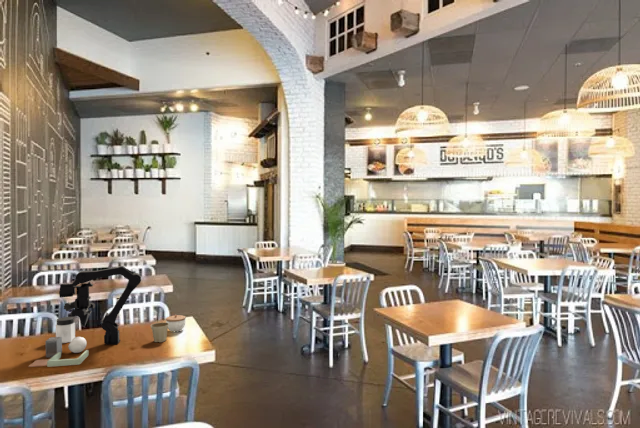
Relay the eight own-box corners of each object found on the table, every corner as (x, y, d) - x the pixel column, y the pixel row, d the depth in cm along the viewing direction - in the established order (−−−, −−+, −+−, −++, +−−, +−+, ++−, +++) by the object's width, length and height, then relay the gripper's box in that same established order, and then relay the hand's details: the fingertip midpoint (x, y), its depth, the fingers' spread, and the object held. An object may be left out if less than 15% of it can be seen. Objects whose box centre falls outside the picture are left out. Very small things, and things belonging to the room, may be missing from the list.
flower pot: (146, 342, 234) (146, 326, 234) (159, 337, 243) (159, 321, 243) (160, 344, 231) (160, 327, 231) (173, 339, 239) (172, 323, 239)
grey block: (62, 352, 219) (61, 336, 218) (57, 357, 212) (56, 340, 212) (50, 353, 218) (49, 337, 217) (44, 357, 211) (44, 341, 211)
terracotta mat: (55, 359, 209) (55, 358, 209) (48, 365, 201) (48, 364, 201) (36, 360, 207) (36, 360, 207) (28, 366, 199) (28, 366, 199)
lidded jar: (163, 330, 256) (162, 314, 256) (180, 327, 263) (180, 311, 263) (171, 334, 248) (170, 318, 248) (189, 330, 255) (188, 314, 255)
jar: (56, 344, 232) (56, 321, 232) (55, 340, 239) (55, 318, 239) (75, 341, 237) (75, 319, 237) (74, 337, 244) (74, 316, 244)
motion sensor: (75, 349, 223) (75, 334, 223) (90, 350, 223) (89, 334, 222) (65, 354, 215) (64, 339, 215) (79, 355, 215) (79, 339, 214)
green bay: (58, 357, 212) (58, 352, 212) (88, 355, 214) (88, 350, 214) (47, 366, 199) (47, 361, 199) (79, 364, 202) (79, 359, 202)
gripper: (72, 293, 235) (73, 322, 236) (58, 300, 217) (59, 332, 217) (94, 291, 238) (95, 320, 238) (83, 299, 219) (84, 330, 220)
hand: (83, 325), depth 228 cm, fingers closed
